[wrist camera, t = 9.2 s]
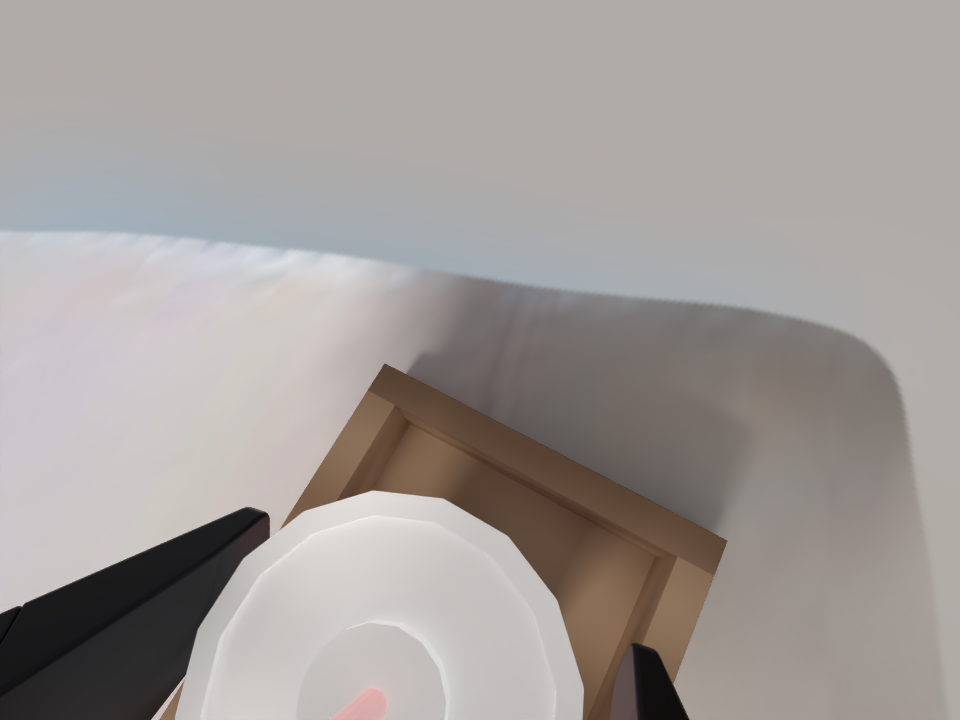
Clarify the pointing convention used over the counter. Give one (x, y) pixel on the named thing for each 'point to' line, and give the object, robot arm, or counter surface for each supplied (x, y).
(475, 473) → the tray
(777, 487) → the counter surface
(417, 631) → the beverage cup
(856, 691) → the counter surface
